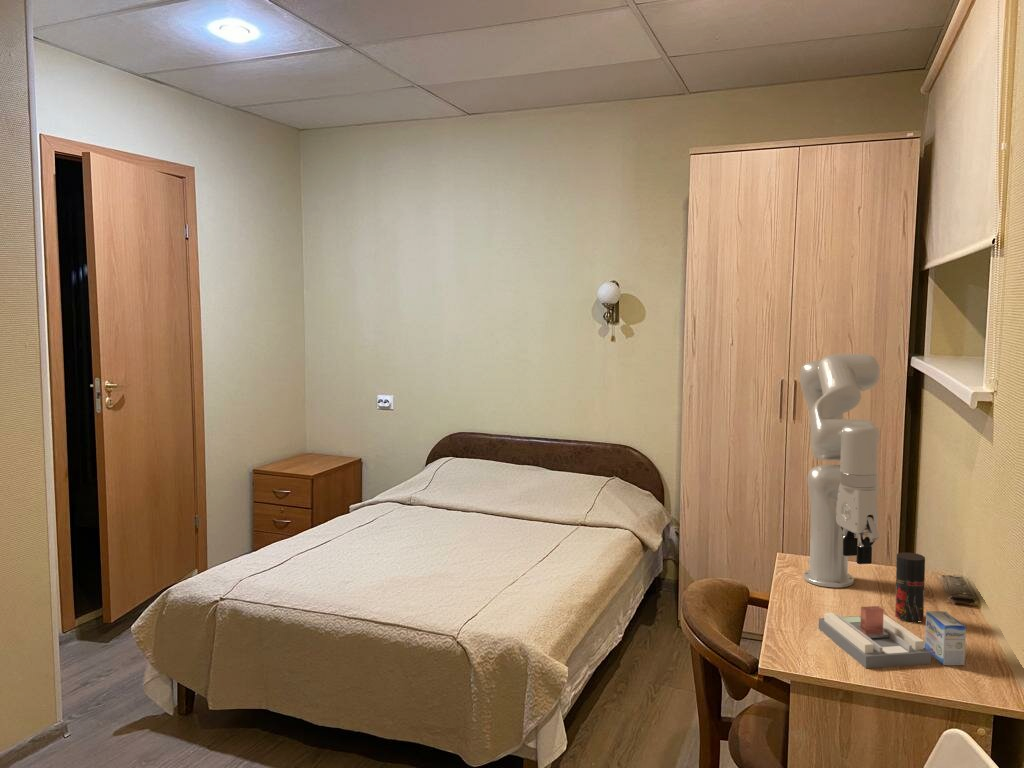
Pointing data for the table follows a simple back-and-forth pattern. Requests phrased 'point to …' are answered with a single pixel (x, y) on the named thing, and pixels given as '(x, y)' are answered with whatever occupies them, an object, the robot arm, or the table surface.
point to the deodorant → (910, 587)
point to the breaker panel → (875, 642)
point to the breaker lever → (872, 622)
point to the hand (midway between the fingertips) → (856, 558)
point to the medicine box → (945, 638)
